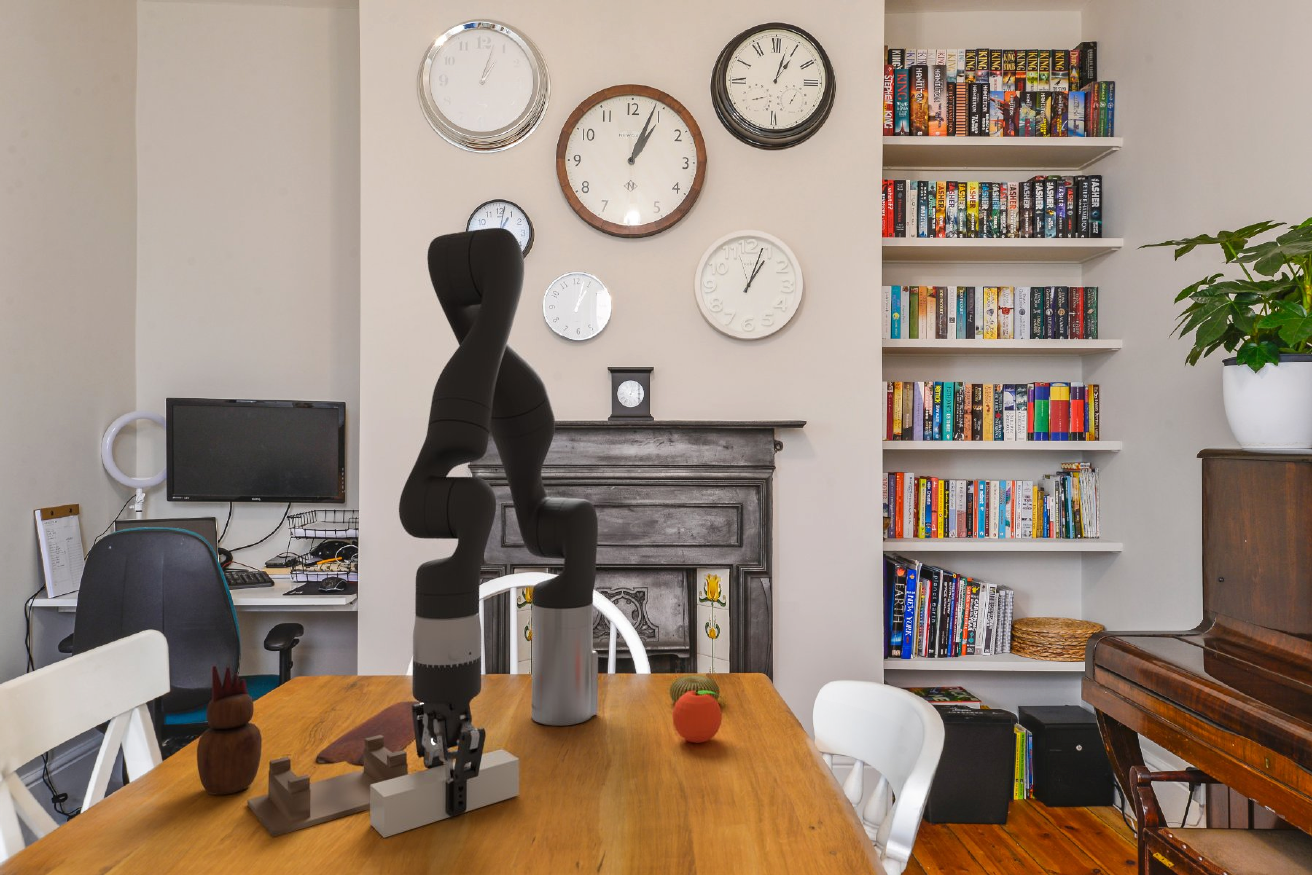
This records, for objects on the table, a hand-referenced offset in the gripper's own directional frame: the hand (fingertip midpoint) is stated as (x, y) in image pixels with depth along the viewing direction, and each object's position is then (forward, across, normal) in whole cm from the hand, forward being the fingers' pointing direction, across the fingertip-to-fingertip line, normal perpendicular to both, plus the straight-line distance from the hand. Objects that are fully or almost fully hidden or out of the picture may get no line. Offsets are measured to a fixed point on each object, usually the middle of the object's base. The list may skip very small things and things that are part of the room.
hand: (446, 805), depth 89 cm
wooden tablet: (+1, +30, -6) cm, 30 cm away
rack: (+1, +11, +8) cm, 14 cm away
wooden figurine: (+1, +22, +17) cm, 28 cm away
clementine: (+1, -3, -37) cm, 37 cm away
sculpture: (+1, +9, -48) cm, 49 cm away
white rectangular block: (0, 0, 0) cm, 0 cm away
